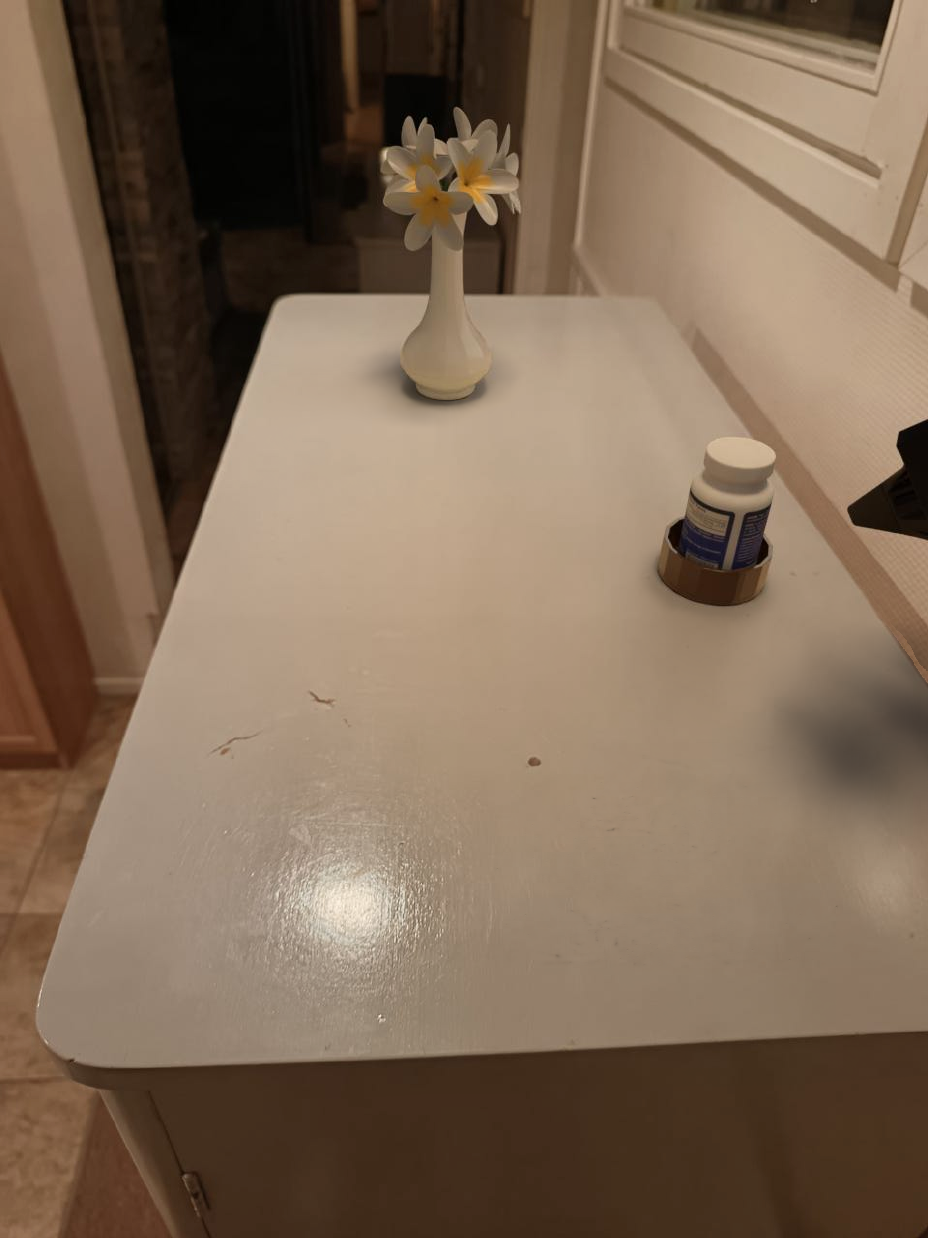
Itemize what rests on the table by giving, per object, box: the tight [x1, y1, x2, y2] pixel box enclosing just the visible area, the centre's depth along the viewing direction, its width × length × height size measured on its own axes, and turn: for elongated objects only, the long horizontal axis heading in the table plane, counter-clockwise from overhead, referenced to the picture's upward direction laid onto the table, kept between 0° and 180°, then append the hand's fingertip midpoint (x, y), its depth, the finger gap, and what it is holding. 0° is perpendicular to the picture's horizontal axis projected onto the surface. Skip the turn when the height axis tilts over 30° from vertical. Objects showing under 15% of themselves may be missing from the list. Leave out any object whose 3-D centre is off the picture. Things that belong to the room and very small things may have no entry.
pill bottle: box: [678, 436, 777, 570], centre depth 63 cm, size 6×6×10 cm
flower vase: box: [380, 106, 522, 401], centre depth 84 cm, size 13×18×25 cm
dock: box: [657, 515, 774, 606], centre depth 66 cm, size 8×8×3 cm
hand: (902, 493), depth 50 cm, fingers open, 9 cm apart
